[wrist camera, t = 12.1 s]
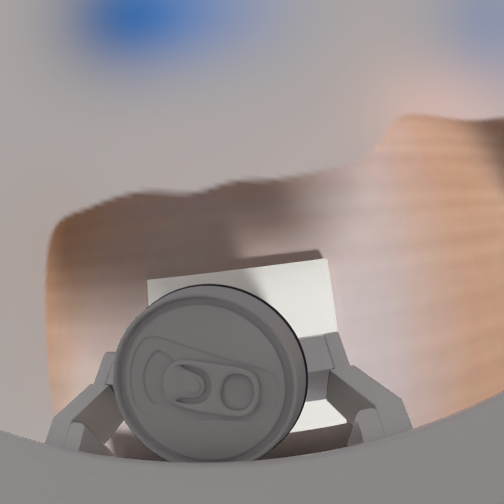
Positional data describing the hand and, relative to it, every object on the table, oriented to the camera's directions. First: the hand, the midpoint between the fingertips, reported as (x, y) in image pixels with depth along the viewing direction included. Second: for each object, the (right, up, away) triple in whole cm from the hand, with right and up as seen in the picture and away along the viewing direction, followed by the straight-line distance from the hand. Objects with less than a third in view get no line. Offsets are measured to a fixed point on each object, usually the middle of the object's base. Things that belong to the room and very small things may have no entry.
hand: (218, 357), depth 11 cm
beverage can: (+1, -3, +8) cm, 9 cm away
